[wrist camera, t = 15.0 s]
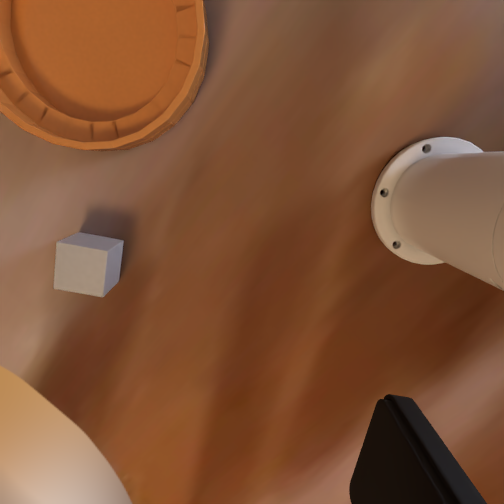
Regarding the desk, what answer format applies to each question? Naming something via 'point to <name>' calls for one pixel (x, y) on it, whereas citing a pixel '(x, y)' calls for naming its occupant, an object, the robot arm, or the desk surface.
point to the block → (87, 264)
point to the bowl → (100, 68)
